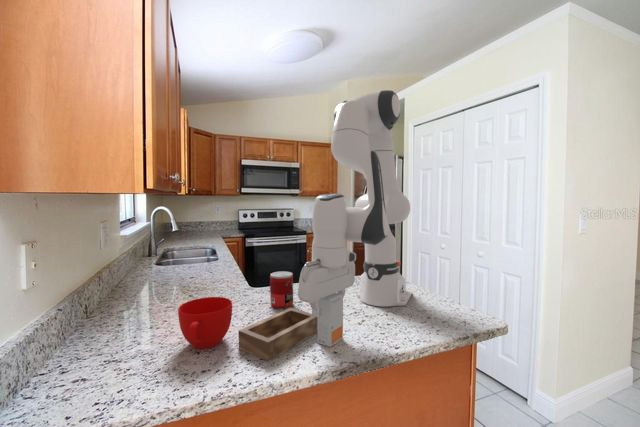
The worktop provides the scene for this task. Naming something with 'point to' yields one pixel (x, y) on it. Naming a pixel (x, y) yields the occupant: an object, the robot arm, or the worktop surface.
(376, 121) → the robot arm
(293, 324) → the brown hollow rectangular tray
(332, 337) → the skincare box
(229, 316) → the ceramic cup
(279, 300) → the canned food
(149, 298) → the worktop surface
